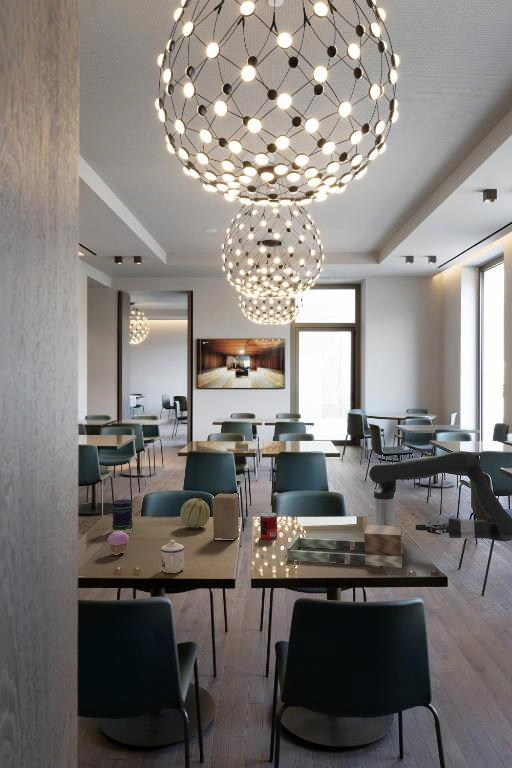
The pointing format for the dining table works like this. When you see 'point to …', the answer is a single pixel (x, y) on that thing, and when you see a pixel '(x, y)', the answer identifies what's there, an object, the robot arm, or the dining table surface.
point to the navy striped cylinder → (122, 514)
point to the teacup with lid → (172, 556)
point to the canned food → (268, 526)
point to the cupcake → (118, 541)
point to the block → (225, 516)
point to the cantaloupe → (195, 513)
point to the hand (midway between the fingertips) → (415, 527)
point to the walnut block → (383, 540)
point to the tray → (338, 557)
